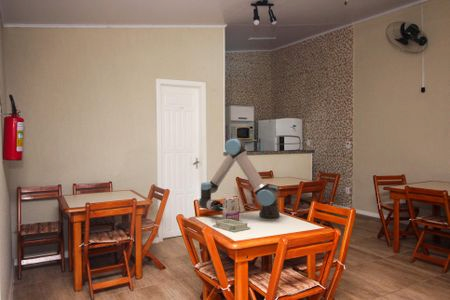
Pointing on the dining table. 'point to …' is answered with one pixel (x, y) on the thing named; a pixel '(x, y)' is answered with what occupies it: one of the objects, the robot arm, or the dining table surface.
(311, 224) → the dining table surface
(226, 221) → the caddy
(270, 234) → the dining table surface
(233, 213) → the candy bar box
